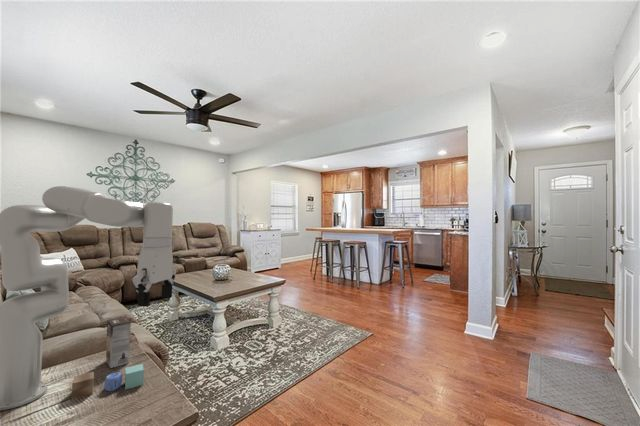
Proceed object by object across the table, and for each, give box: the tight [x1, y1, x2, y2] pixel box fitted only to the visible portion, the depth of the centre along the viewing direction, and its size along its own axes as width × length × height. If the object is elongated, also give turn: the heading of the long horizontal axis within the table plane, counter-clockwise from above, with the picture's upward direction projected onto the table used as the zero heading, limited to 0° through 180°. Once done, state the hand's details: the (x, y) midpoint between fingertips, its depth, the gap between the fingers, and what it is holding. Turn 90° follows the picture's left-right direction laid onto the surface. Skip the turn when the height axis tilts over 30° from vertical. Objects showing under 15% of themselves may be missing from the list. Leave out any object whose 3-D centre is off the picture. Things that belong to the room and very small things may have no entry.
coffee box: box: [105, 316, 132, 369], centre depth 111 cm, size 9×6×16 cm
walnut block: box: [71, 371, 95, 401], centre depth 90 cm, size 5×5×5 cm
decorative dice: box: [103, 372, 123, 392], centre depth 93 cm, size 4×4×4 cm
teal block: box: [124, 363, 145, 390], centre depth 96 cm, size 5×5×5 cm
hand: (155, 301), depth 83 cm, fingers open, 9 cm apart
